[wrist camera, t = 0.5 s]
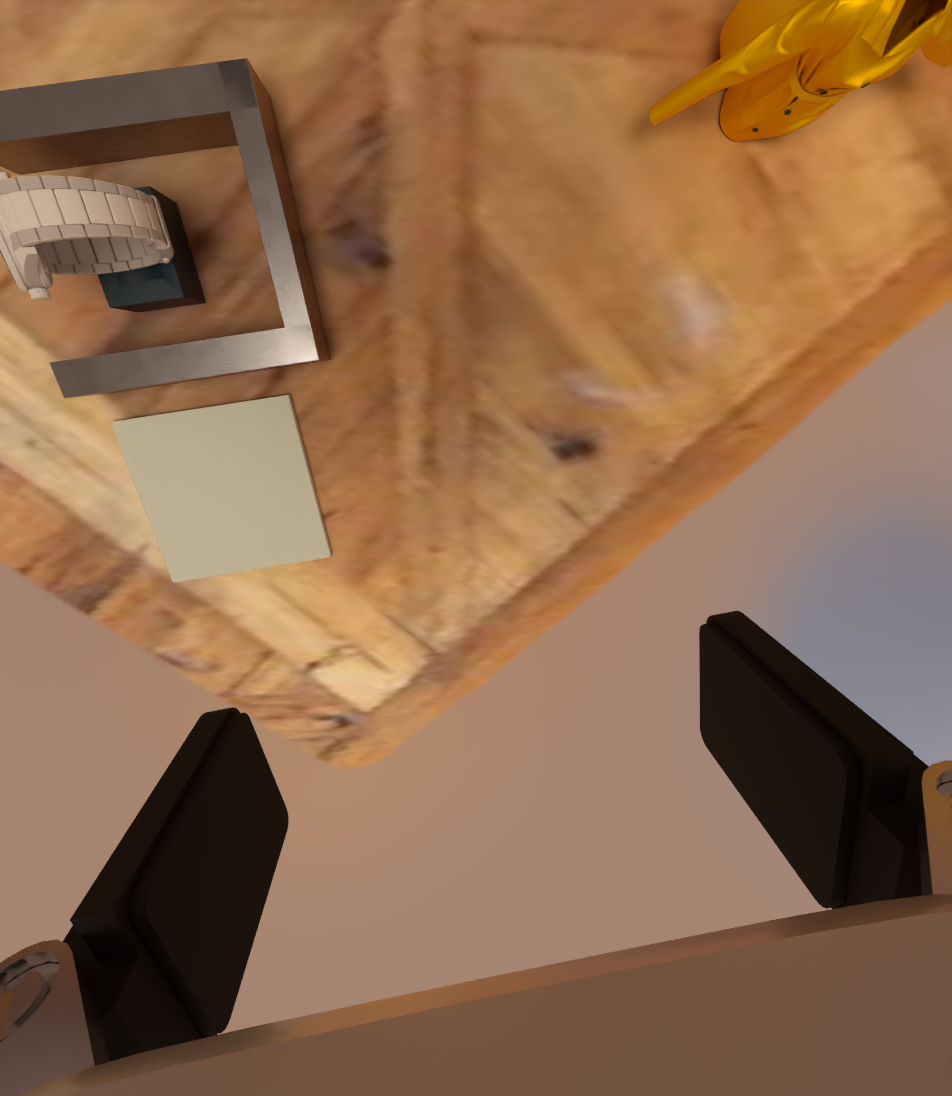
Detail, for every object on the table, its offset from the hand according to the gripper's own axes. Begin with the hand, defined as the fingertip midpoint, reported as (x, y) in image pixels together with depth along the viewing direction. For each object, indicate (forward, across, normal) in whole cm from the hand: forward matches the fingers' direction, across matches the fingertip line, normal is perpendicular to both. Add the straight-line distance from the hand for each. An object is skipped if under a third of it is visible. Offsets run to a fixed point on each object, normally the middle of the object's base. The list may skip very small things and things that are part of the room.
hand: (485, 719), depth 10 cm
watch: (+29, +16, -16) cm, 37 cm away
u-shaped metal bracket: (+29, +14, -15) cm, 36 cm away
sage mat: (+29, +16, 0) cm, 33 cm away
